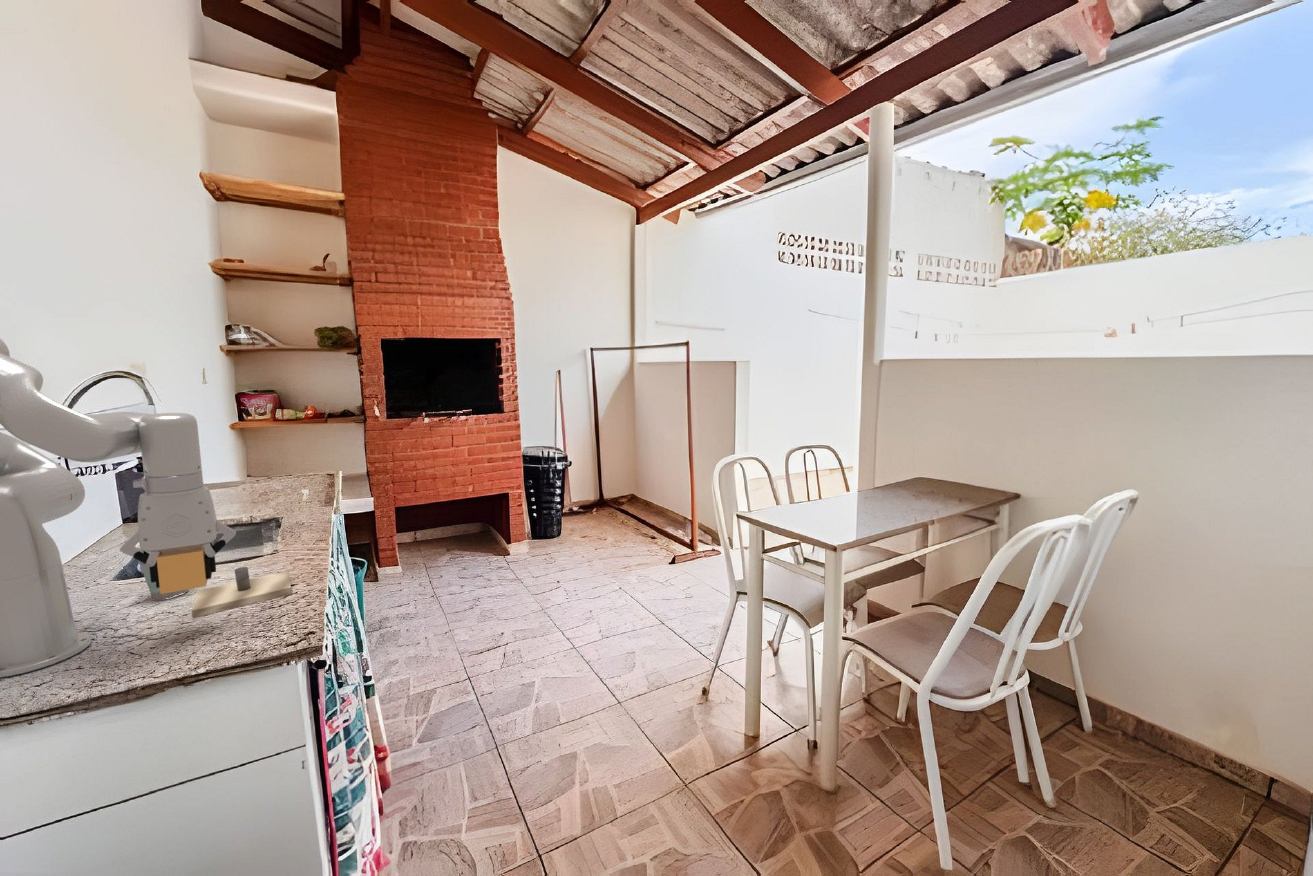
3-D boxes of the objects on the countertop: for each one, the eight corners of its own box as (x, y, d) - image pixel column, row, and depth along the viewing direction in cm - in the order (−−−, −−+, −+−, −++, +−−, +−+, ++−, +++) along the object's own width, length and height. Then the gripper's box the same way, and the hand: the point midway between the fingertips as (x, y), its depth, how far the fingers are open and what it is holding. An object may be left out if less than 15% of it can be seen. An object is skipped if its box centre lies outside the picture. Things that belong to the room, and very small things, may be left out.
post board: (193, 617, 102) (188, 589, 101) (198, 597, 112) (194, 570, 111) (291, 594, 112) (288, 567, 111) (289, 576, 121) (285, 552, 120)
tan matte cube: (160, 594, 90) (156, 558, 90) (165, 582, 95) (161, 548, 94) (206, 586, 94) (202, 551, 93) (208, 575, 99) (205, 542, 98)
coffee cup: (136, 599, 112) (126, 545, 110) (186, 583, 119) (177, 533, 118) (154, 606, 108) (143, 551, 106) (204, 590, 115) (195, 538, 114)
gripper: (99, 493, 84) (113, 600, 86) (236, 481, 94) (245, 576, 97) (110, 485, 90) (122, 585, 92) (237, 474, 100) (246, 564, 103)
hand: (185, 579), depth 94 cm, fingers closed on tan matte cube, 5 cm apart
